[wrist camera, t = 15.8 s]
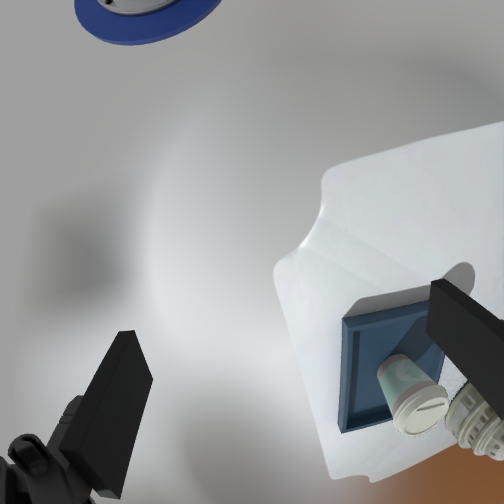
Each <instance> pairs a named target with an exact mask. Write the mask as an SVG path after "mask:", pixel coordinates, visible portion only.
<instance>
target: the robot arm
mask: <svg viewBox="0 0 504 504" xmlns="http://www.w3.org/2000/svg"><path fill="white" fill-rule="evenodd" d="M97 1H98V2H99V3H100V4H101V5H102V7H103V8H104V9H106V10H107V11H108V12H110V13H112V14H114V15H118V16H122V17H140V16H146V15H151V14H154V13H157V12H160V11H162V10H165V9H167V8H169V7H171V6H173V5H175V4H176V3H178V2H179V1H181V0H97ZM425 333H426V334H427V335H428V336H429V337H430V338H431V339H432V340H433V341H434V342H435V343H436V345H437V346H438V347H439V348H440V349H441V350H442V351H443V352H444V353H445V355H446V356H447V357H448V358H449V359H450V360H451V361H452V362H453V363H454V365H455V366H456V367H457V368H458V369H459V370H460V371H461V373H462V374H463V375H464V376H465V377H466V378H467V380H468V381H469V382H470V383H471V384H472V385H473V387H474V388H475V389H476V390H477V391H478V392H479V394H480V395H481V396H482V397H483V398H484V400H485V401H486V402H487V403H488V405H489V406H490V407H491V408H492V409H493V411H494V412H495V413H496V414H497V416H498V417H499V418H500V419H501V421H502V420H504V320H502V319H501V320H500V319H498V318H497V317H496V316H494V315H493V314H492V313H491V312H489V311H488V310H487V309H485V308H484V307H483V306H481V305H480V304H479V303H477V302H476V301H475V300H473V299H472V298H471V297H469V296H468V295H467V294H465V293H464V292H463V291H461V290H460V289H459V288H457V287H456V286H454V285H453V284H452V283H450V282H449V281H447V280H446V279H445V278H442V279H438V280H434V281H431V289H430V299H429V308H428V316H427V323H426V330H425ZM152 381H153V378H152V375H151V373H150V371H149V368H148V365H147V363H146V360H145V357H144V355H143V352H142V350H141V347H140V344H139V342H138V339H137V336H136V333H135V331H134V330H131V331H119V332H118V334H117V336H116V337H115V339H114V341H113V343H112V344H111V346H110V348H109V350H108V351H107V353H106V355H105V357H104V359H103V360H102V362H101V364H100V366H99V368H98V370H97V371H96V373H95V375H94V377H93V379H92V381H91V383H90V385H89V386H88V388H87V390H86V392H85V394H84V396H79V395H78V396H76V397H75V398H74V399H73V400H72V401H71V402H70V403H69V404H68V405H67V407H66V409H65V411H64V413H63V416H61V418H60V420H59V424H57V426H56V428H55V430H54V432H53V434H52V436H51V438H50V440H49V442H48V444H47V446H46V447H45V445H44V444H43V443H42V442H41V440H40V439H39V438H38V437H37V436H36V435H34V434H24V435H20V436H19V437H17V438H16V439H14V441H13V442H12V443H11V444H10V447H9V449H8V456H9V457H10V458H11V459H12V460H13V461H14V463H15V464H11V465H9V464H8V463H7V462H6V461H5V459H4V458H3V457H1V456H0V504H96V503H95V501H94V500H93V499H92V498H91V496H90V493H91V490H92V488H93V489H94V490H95V491H96V492H97V493H98V495H99V496H101V497H107V498H114V499H120V497H121V493H122V489H123V485H124V481H125V477H126V473H127V470H128V466H129V462H130V458H131V455H132V451H133V447H134V443H135V440H136V436H137V433H138V429H139V426H140V422H141V419H142V415H143V412H144V408H145V405H146V402H147V398H148V395H149V392H150V388H151V385H152Z"/></svg>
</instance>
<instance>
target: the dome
mask: <svg viewBox="0 0 504 504" xmlns="http://www.w3.org/2000/svg"><path fill="white" fill-rule="evenodd" d="M445 425H446V428H447V429H448V430H449V431H450V432H452V433H453V434H454V436H455V437H456V439H457V442H458V444H459V446H460V447H462V448H472V449H473V452H474V454H475V455H479V456H480V455H485V454H487V455H488V456H489V457H491V458H492V459H495V460H504V420H502V421H501V419H500V418H499V417H498V416H497V414H496V413H495V412H494V411H493V409H492V408H491V407H490V406H489V405H488V403H487V402H486V401H485V400H484V398H483V397H482V396H481V395H480V394H479V392H478V391H477V390H476V389H475V388H474V387H473V385H472V384H471V383H470V382H468V383H467V384H466V385H465V387H464V388H463V389H462V390H461V391H460V392H459V394H458V395H457V396H456V397H455V399H454V400H453V402H452V403H451V405H450V407H449V409H448V411H447V414H446V418H445Z"/></svg>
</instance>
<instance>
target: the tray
mask: <svg viewBox="0 0 504 504" xmlns="http://www.w3.org/2000/svg"><path fill="white" fill-rule="evenodd" d="M428 308H429V300H428V301H424V302H419V303H415V304H411V305H406V306H402V307H397V308H393V309H388V310H383V311H379V312H374V313H369V314H364V315H359V316H353V317H348V318H343V319H342V352H341V378H340V396H339V411H338V426H339V429H340V432H341V434H342V433H346V432H350V431H354V430H358V429H362V428H366V427H370V426H373V425H377V424H380V423H384V422H387V421H390V420H393V416H392V414H391V411H390V408H389V406H388V403H387V401H386V398H385V395H384V393H383V390H382V388H381V385H380V383H379V380H378V377H377V372H378V369H379V367H380V365H381V364H382V363H383V362H384V361H385V360H386V359H387V358H389V357H391V356H393V355H396V354H404V355H406V356H407V357H408V358H409V359H411V360H412V361H413V362H414V363H415V364H416V365H417V366H418V367H419V368H420V369H421V370H423V371H424V372H425V373H426V374H427V375H428V376H429V377H430V378H431V379H432V380H433V381H434V382H436V383H437V384H438V381H439V377H440V373H441V369H442V365H443V361H444V357H445V353H444V352H443V351H442V350H441V349H440V348H439V347H438V346H437V345H436V343H435V342H434V341H433V340H432V339H431V338H430V337H429V336H428V335H427V334H426V333H425V330H426V323H427V316H428Z"/></svg>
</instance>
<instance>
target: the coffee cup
mask: <svg viewBox="0 0 504 504" xmlns="http://www.w3.org/2000/svg"><path fill="white" fill-rule="evenodd" d="M377 377H378V380H379V383H380V385H381V388H382V390H383V393H384V395H385V398H386V401H387V403H388V406H389V408H390V411H391V414H392V416H393V425H394V427H395V428H396V429H397V430H398V431H399V432H401V433H403V434H404V435H405V436H408V437H414V436H418V435H421V434H424V433H426V432H427V431H429V430H431V429H432V428H434V427H435V426H436V425H437V424H438V423H439V422H440V421H441V420H442V419H443V418H444V416H445V415H446V413H447V411H448V409H449V400H448V394H447V392H446V390H445V388H444V387H442V386H440V385H438V384H437V383H436V382H434V381H433V380H432V379H431V378H430V377H429V376H428V375H427V374H426V373H425V372H424V371H423V370H421V369H420V368H419V367H418V366H417V365H416V364H415V363H414V362H413V361H412V360H411V359H409V358H408V357H407V356H406V355H404V354H396V355H393V356H391V357H389V358H387V359H386V360H385V361H384V362H383V363H382V364H381V365H380V367H379V369H378V372H377Z"/></svg>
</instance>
